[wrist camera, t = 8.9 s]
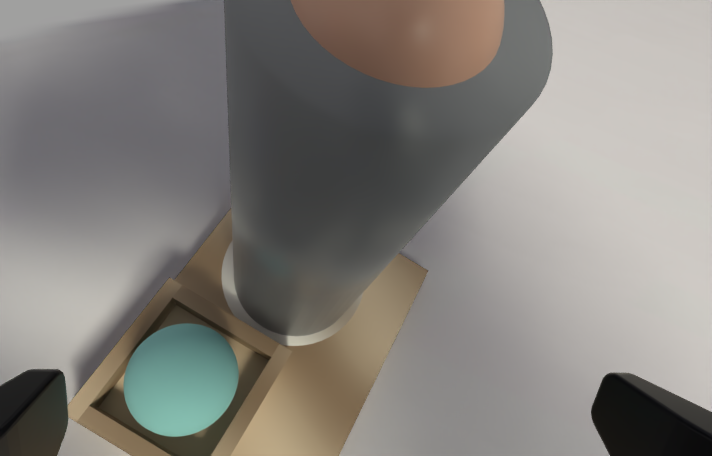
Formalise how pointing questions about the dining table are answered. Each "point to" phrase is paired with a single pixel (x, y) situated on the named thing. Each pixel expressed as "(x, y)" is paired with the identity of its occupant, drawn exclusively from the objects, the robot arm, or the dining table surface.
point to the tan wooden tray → (257, 364)
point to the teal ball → (181, 379)
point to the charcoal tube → (360, 134)
